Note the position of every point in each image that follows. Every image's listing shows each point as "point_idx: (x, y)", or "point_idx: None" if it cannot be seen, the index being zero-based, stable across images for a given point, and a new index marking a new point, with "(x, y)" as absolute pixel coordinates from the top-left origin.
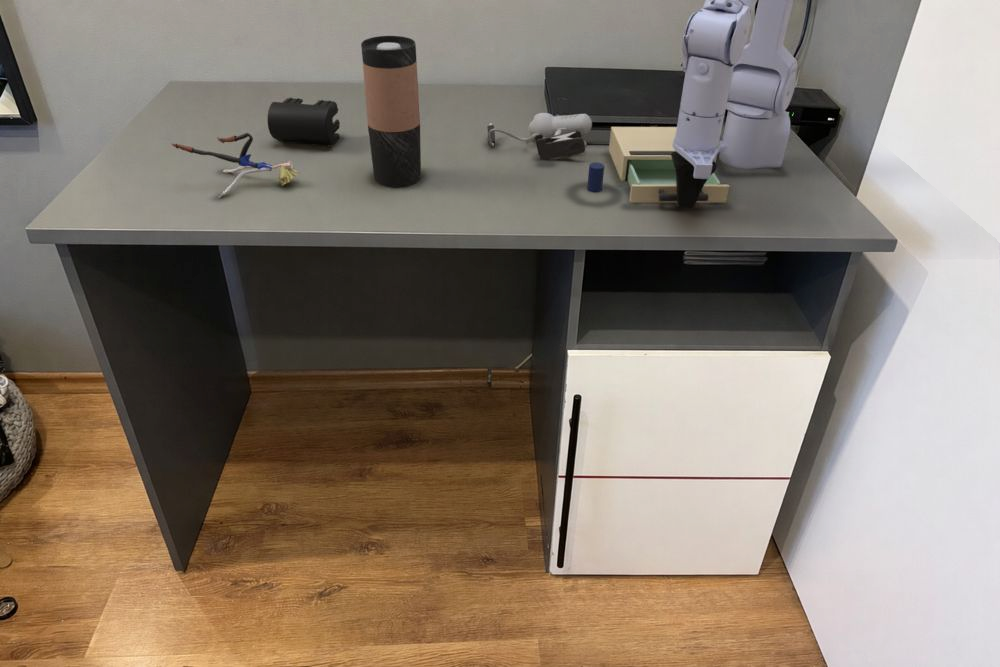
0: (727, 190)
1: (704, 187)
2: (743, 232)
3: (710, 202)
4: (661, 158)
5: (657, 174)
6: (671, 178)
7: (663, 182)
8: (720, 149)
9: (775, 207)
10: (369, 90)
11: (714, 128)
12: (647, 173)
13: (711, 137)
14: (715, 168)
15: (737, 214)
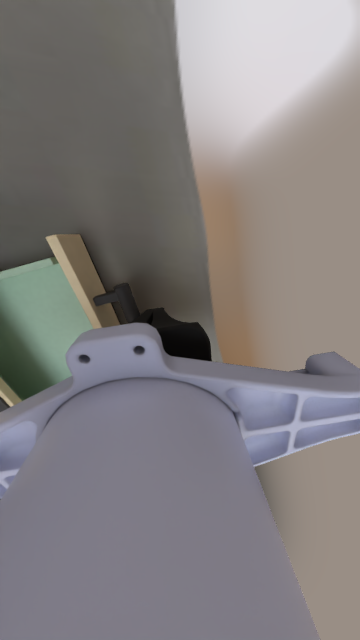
0: (63, 237)
1: (87, 295)
2: (182, 197)
3: (92, 268)
4: (9, 391)
5: (15, 362)
6: (18, 341)
7: (45, 352)
8: (163, 357)
9: (10, 81)
10: None
11: (296, 603)
12: (22, 376)
13: (259, 491)
14: (198, 326)
15: (101, 206)
